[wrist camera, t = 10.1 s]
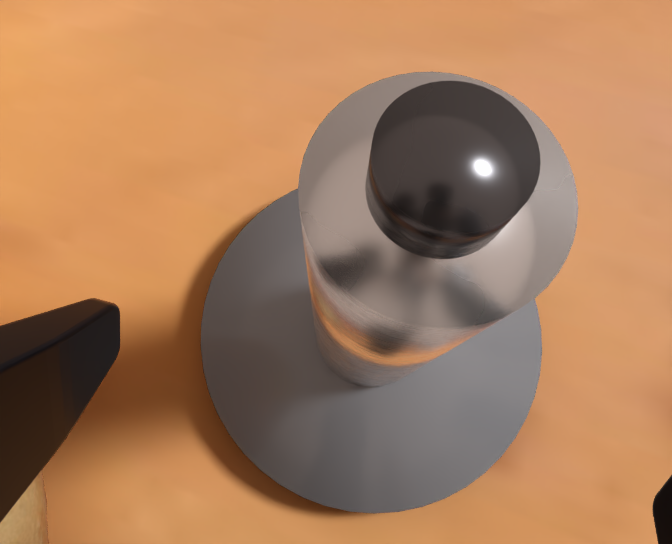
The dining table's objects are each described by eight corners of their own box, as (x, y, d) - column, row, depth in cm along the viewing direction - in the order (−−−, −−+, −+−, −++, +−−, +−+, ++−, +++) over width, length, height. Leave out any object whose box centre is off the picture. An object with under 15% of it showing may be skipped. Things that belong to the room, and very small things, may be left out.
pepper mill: (322, 393, 20) (311, 331, 6) (309, 282, 21) (279, 33, 8) (436, 379, 20) (661, 289, 7) (417, 270, 22) (572, 8, 8)
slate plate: (216, 530, 20) (209, 537, 18) (200, 201, 24) (193, 190, 22) (565, 483, 20) (579, 487, 19) (493, 171, 24) (501, 159, 23)
